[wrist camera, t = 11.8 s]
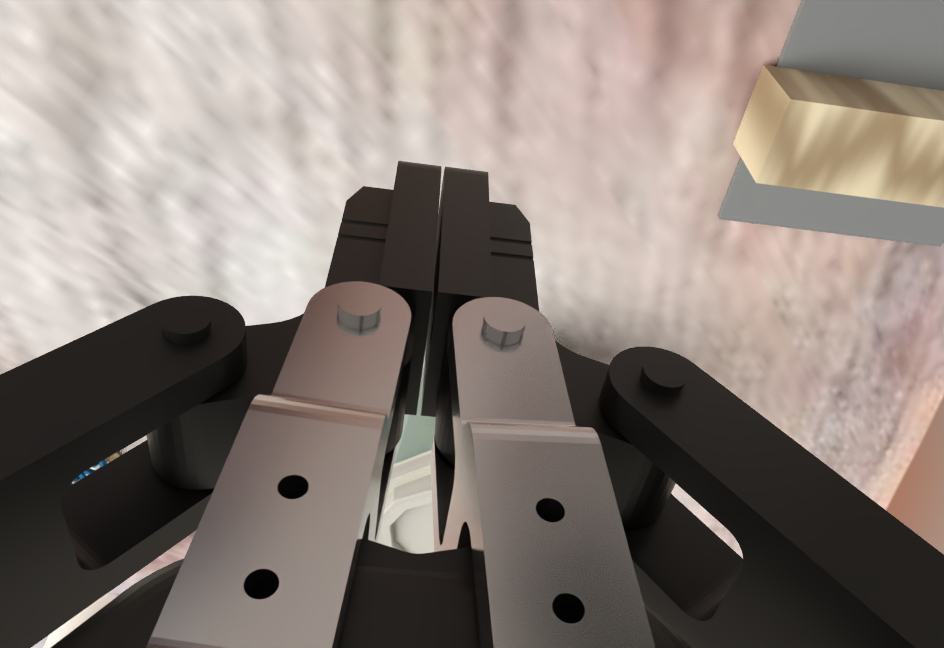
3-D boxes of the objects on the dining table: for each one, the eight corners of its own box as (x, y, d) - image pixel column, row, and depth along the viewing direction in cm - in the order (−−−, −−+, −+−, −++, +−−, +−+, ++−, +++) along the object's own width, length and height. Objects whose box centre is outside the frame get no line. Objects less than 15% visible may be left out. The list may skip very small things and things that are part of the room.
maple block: (790, 99, 37) (1025, 132, 38) (763, 64, 41) (978, 95, 42) (756, 182, 40) (975, 211, 41) (733, 143, 43) (935, 171, 44)
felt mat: (814, -32, 38) (816, -29, 38) (1079, 10, 39) (1083, 12, 39) (717, 215, 47) (719, 218, 46) (937, 243, 48) (940, 246, 48)
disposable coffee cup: (513, 430, 58) (523, 613, 47) (371, 402, 57) (344, 586, 45) (560, 322, 52) (585, 504, 40) (402, 288, 50) (380, 467, 38)
